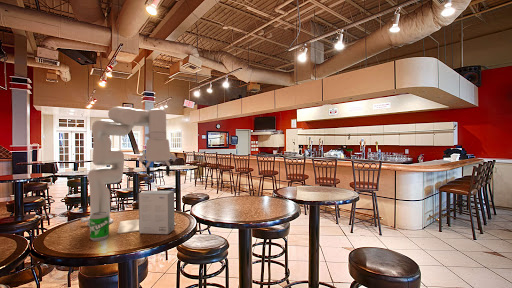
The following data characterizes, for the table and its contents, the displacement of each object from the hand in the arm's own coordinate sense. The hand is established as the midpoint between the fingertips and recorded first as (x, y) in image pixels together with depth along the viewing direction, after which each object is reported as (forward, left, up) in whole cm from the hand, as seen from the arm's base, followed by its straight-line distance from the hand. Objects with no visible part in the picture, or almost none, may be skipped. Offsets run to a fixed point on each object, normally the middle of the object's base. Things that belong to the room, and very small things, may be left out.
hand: (158, 175), depth 112 cm
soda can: (-25, +17, -30) cm, 43 cm away
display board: (-4, +31, -30) cm, 43 cm away
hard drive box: (0, +14, -30) cm, 33 cm away
